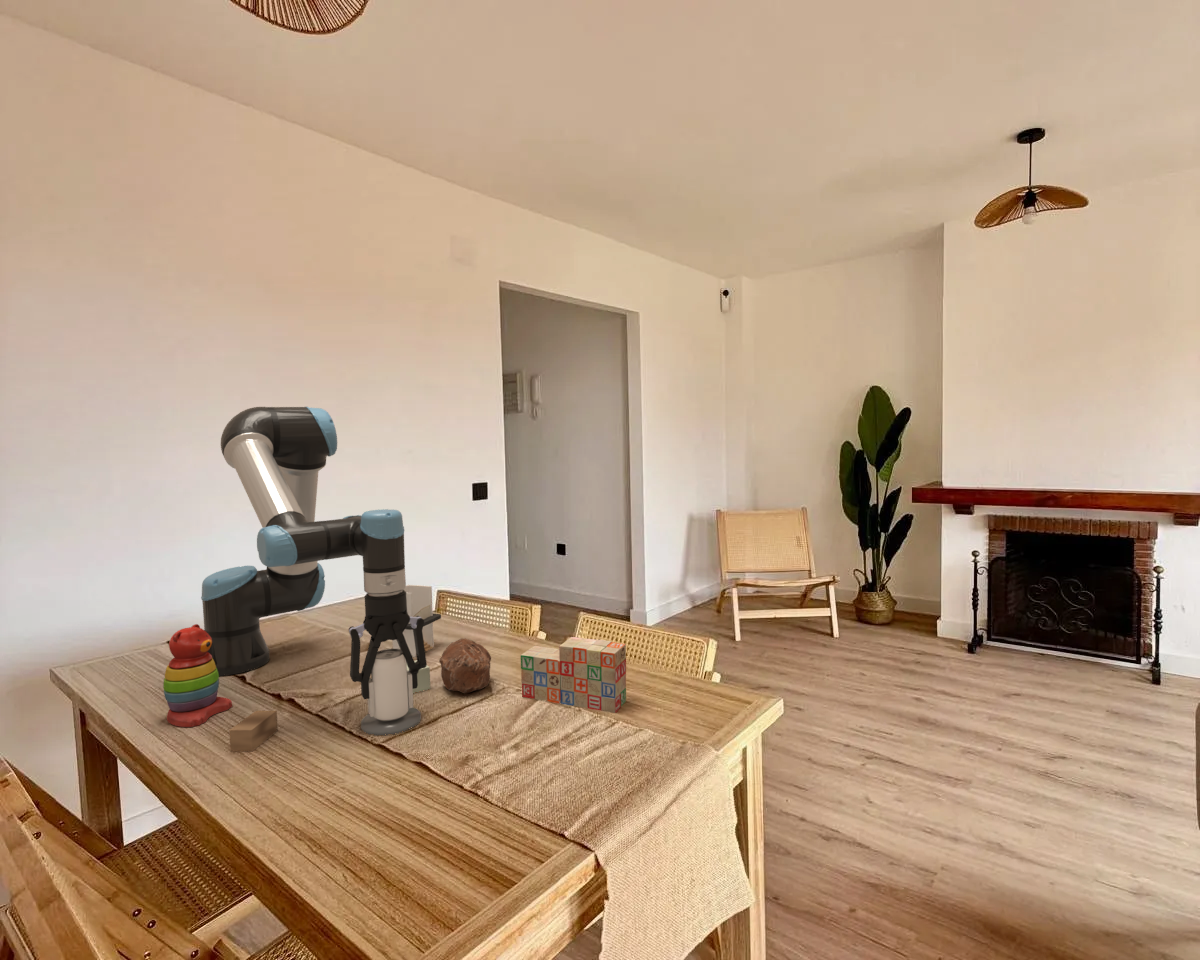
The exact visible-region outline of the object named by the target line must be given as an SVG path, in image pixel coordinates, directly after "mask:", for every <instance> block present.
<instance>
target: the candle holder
mask: <svg viewBox="0 0 1200 960" xmlns="http://www.w3.org/2000/svg"><path fill="white" fill-rule="evenodd" d="M403 590H404V591H405V592H406V599H407V613H408V615H409V616H410V617H416V616H420V617H421V618H422V619H423V620H424V624H423V629H422V633H423V641H424V648H425V652H428V651H430V650H432V649H433V648H435V643H434V641H435V640H434V624H433V623H434V622H436V621H438V620H441V619H442V614H441V613H434V610H433V591H432V590H433V589H432V586H431V585H417V584H406V587H405V589H403ZM403 635H404V638H405V640H406V643H407V645H408V648H409V650H410V653H411V655H412V657H413V658H417V655H416V648H415V641H414V634H413V628H412V627H411V624H410V623H408V625H407V627H406V628H405V630H404V631H403ZM391 641H392V649H400V647H399V645H398V642H397V640H391Z"/></svg>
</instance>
